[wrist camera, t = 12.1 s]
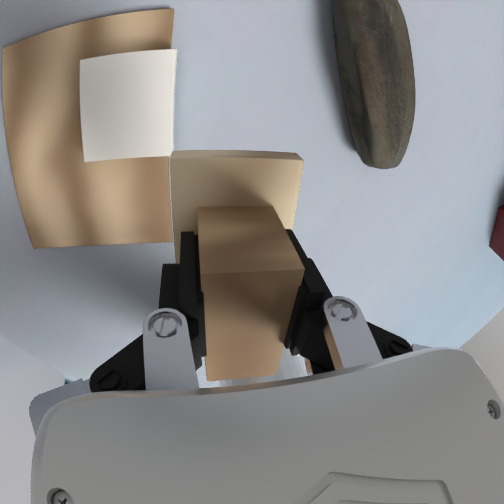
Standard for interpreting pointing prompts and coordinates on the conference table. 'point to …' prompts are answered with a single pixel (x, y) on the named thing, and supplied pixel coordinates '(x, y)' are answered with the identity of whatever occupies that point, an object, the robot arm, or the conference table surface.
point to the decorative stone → (376, 77)
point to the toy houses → (498, 234)
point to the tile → (128, 105)
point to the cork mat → (80, 139)
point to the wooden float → (241, 251)
